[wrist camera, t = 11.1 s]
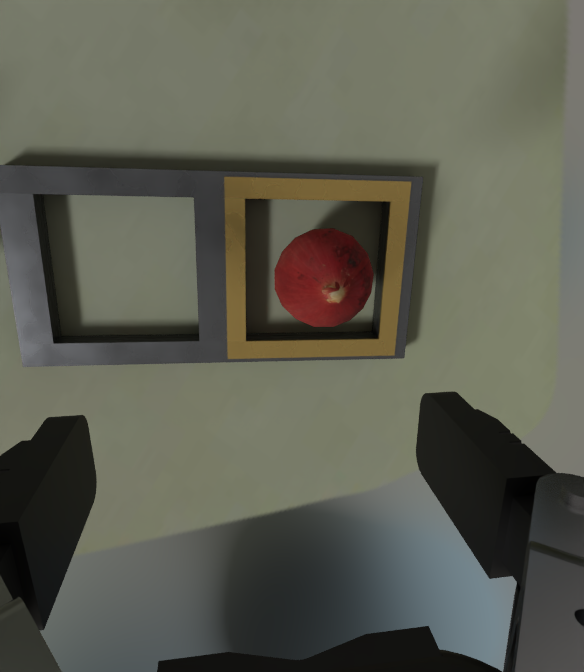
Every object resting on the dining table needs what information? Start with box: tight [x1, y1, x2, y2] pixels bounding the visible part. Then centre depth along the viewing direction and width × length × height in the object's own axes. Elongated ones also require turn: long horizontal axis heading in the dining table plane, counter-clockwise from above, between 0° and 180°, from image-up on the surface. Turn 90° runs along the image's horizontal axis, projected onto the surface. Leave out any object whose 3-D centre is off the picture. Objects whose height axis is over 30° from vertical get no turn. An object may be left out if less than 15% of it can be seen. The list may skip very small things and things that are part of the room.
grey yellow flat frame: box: [0, 165, 423, 367], centre depth 30 cm, size 12×25×2 cm, turn 89°
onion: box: [275, 228, 374, 327], centre depth 28 cm, size 6×6×8 cm
